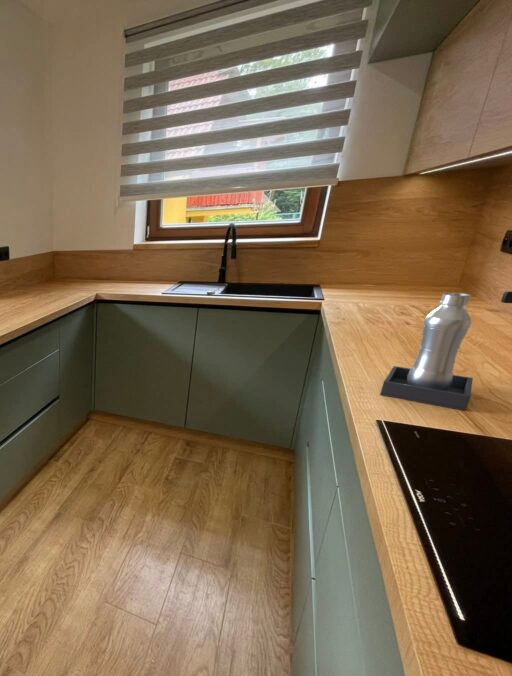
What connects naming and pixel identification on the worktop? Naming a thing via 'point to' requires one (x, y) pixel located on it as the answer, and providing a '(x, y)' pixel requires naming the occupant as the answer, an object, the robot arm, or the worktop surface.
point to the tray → (428, 390)
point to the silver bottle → (441, 343)
